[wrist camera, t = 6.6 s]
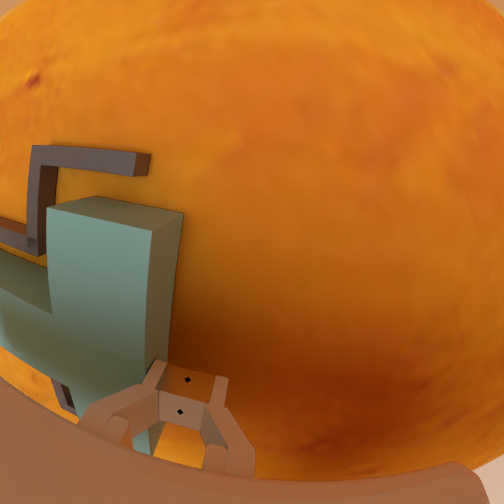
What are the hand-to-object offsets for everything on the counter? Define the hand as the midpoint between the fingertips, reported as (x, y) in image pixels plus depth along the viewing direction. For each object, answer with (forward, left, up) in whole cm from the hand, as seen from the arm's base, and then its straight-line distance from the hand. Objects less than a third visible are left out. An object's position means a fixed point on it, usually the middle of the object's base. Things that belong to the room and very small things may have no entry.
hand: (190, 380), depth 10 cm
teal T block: (+8, 0, -2) cm, 8 cm away
